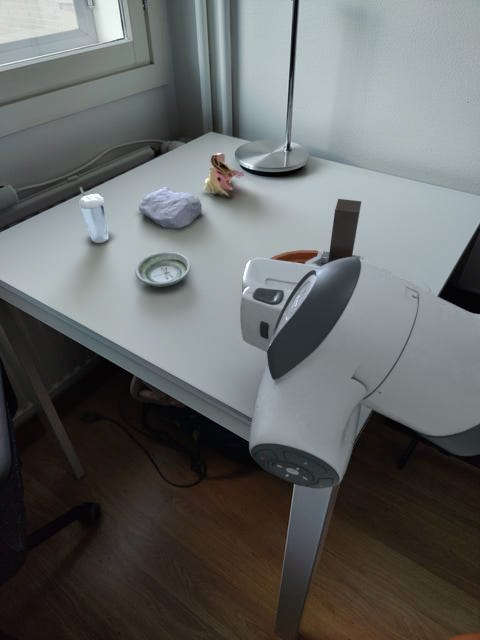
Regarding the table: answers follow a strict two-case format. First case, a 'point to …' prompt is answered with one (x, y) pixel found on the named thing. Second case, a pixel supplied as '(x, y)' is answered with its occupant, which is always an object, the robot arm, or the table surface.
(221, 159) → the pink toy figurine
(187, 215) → the stone block
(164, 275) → the saucer
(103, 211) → the milkshake
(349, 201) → the dark brown tall block
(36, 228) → the table surface
